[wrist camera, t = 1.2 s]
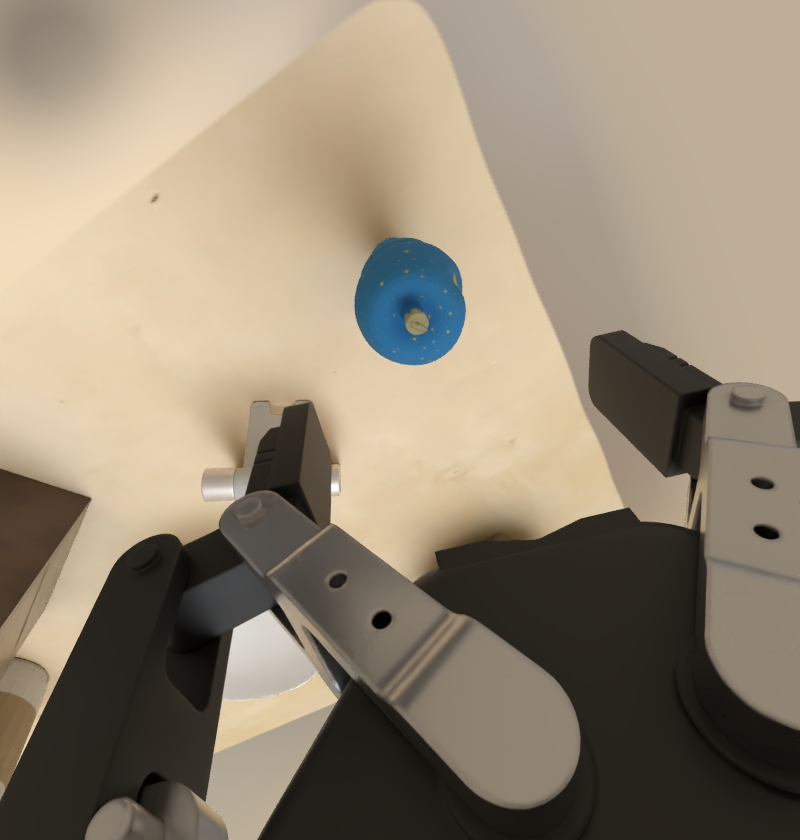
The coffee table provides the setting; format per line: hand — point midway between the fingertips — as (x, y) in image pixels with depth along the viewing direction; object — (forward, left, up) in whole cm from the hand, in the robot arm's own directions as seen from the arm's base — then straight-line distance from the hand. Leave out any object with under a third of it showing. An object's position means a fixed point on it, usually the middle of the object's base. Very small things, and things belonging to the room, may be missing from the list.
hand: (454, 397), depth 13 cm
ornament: (0, 0, -20) cm, 20 cm away
